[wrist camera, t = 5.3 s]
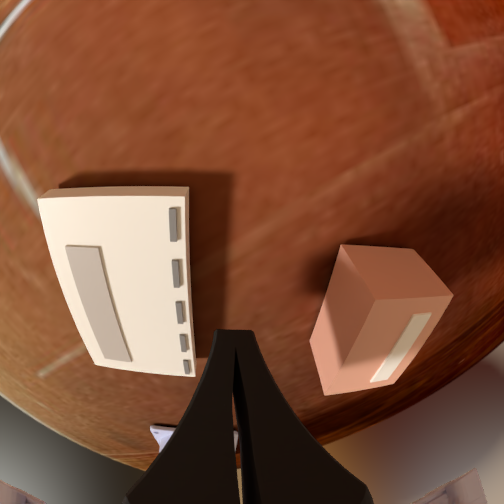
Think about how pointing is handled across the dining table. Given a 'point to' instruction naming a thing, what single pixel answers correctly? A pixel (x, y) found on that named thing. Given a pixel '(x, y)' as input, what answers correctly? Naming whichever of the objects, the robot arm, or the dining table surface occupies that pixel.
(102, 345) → the white slotted panel
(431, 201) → the dining table surface
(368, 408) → the dining table surface
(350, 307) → the pink rectangular block
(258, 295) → the dining table surface
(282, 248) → the dining table surface
